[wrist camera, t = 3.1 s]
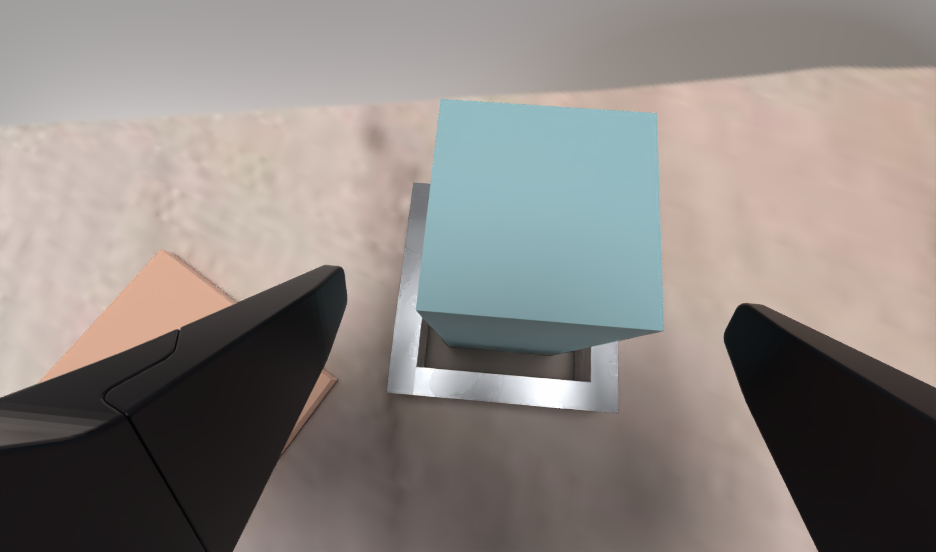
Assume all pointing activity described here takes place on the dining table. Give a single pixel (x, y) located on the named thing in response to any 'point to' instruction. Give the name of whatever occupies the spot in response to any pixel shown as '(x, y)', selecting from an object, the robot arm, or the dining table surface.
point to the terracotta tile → (160, 319)
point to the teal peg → (542, 228)
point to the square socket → (409, 376)
